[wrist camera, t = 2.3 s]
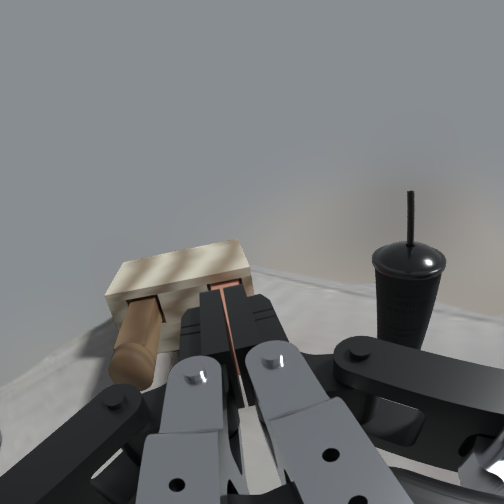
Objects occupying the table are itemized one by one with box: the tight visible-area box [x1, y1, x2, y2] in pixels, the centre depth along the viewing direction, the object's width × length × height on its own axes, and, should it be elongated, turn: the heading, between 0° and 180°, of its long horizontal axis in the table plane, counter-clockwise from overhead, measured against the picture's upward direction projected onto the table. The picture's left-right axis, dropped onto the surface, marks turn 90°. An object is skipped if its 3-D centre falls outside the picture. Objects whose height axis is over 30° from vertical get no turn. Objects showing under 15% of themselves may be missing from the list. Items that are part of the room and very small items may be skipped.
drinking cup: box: [372, 191, 446, 350], centre depth 27 cm, size 8×8×20 cm
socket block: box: [105, 239, 254, 353], centre depth 44 cm, size 20×12×10 cm, turn 99°
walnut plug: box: [109, 294, 164, 391], centre depth 33 cm, size 5×16×5 cm, turn 9°
